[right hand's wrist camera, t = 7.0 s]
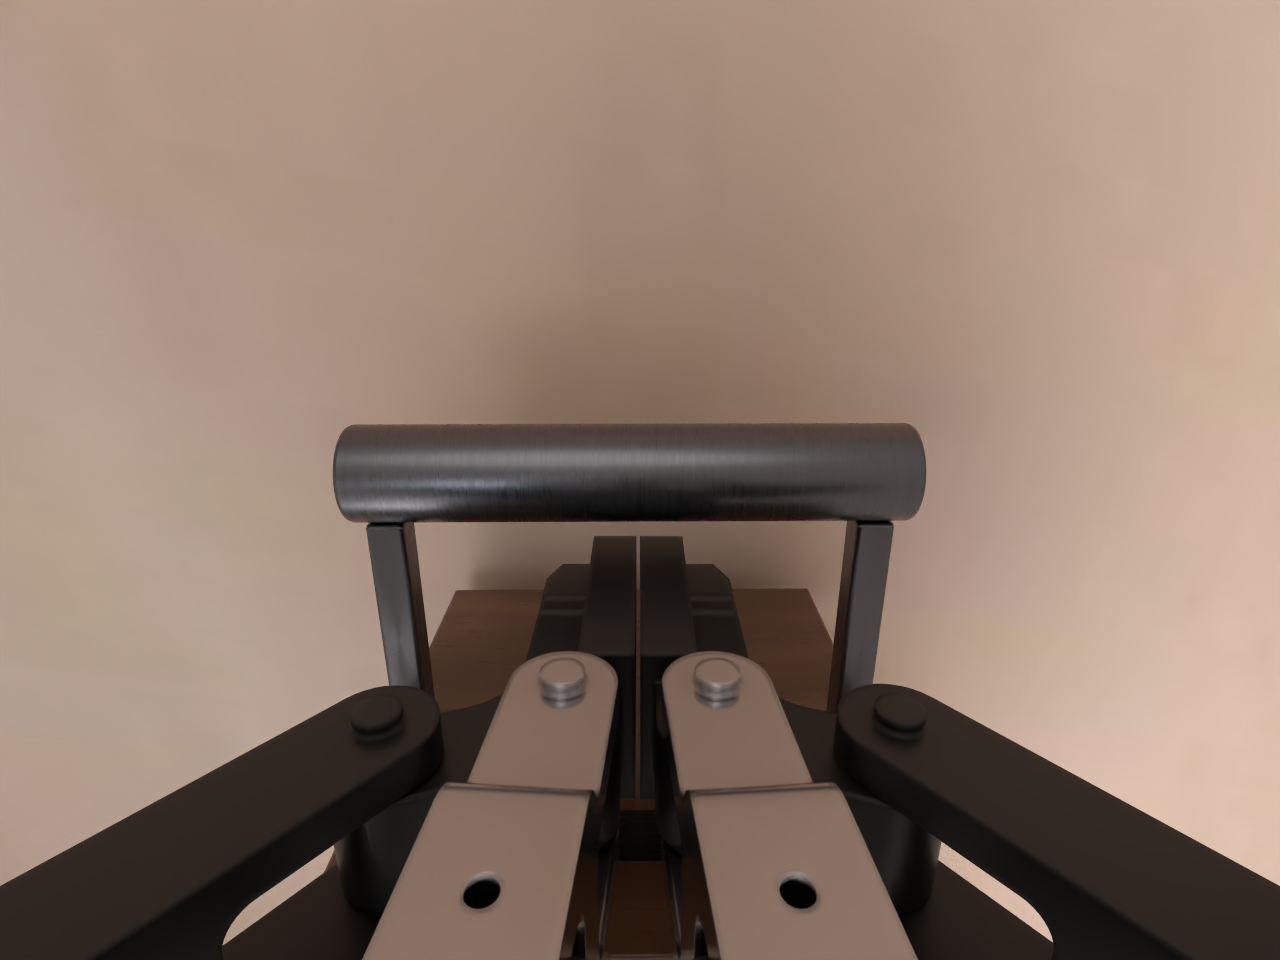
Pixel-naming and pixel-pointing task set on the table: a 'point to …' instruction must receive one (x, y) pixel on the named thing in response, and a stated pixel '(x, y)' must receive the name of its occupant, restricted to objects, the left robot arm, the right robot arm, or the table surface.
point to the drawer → (637, 491)
